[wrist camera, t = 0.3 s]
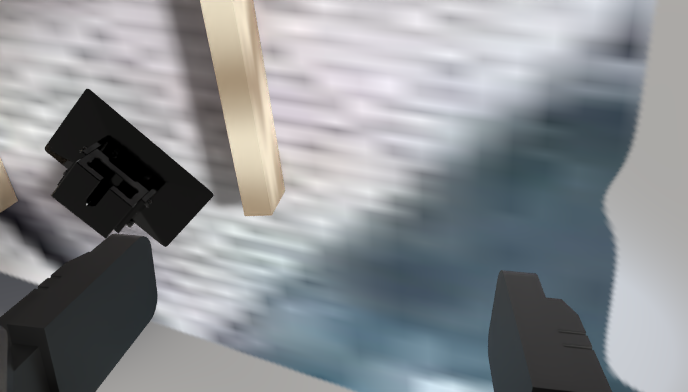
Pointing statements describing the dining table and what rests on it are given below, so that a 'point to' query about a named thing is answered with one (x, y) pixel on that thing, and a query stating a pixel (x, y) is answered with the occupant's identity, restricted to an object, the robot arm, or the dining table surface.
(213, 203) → the dining table surface
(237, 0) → the frame
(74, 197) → the black angular block
